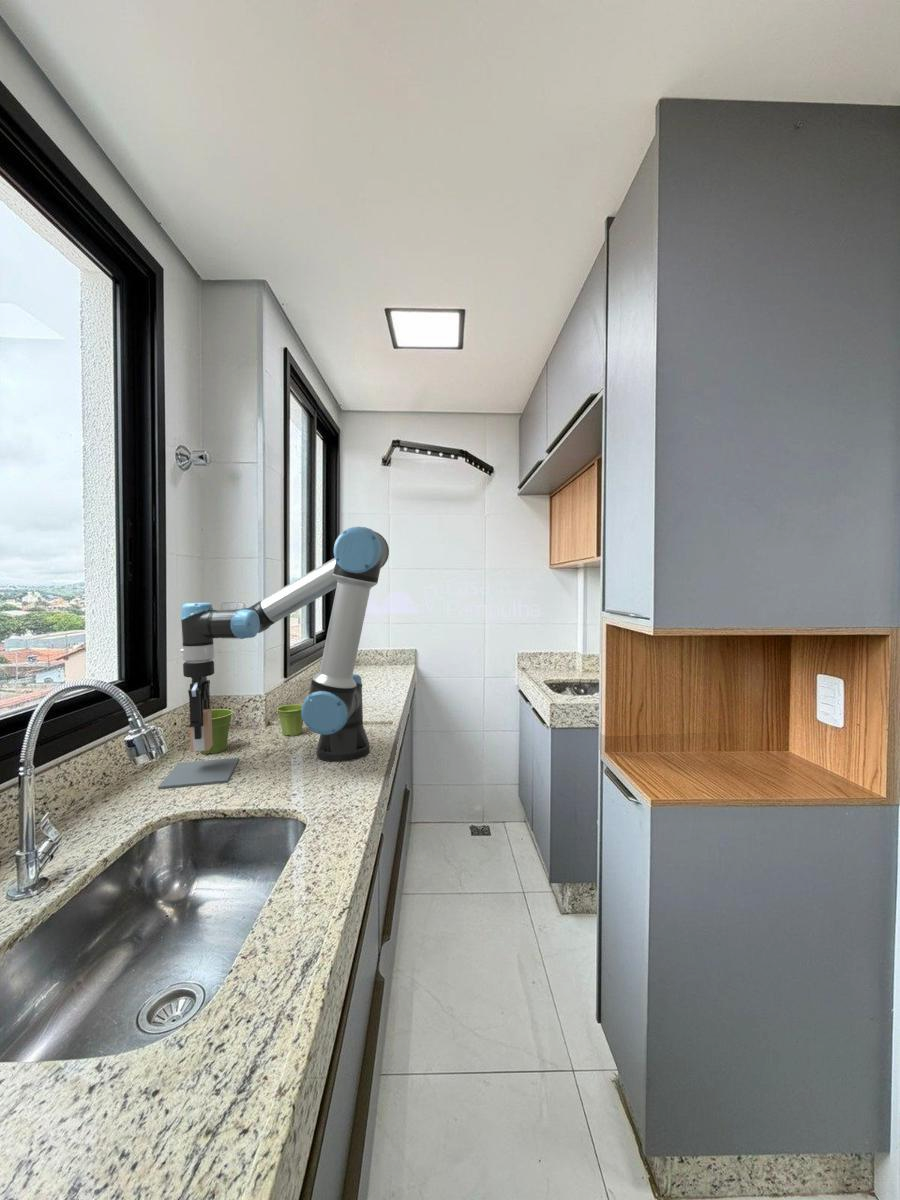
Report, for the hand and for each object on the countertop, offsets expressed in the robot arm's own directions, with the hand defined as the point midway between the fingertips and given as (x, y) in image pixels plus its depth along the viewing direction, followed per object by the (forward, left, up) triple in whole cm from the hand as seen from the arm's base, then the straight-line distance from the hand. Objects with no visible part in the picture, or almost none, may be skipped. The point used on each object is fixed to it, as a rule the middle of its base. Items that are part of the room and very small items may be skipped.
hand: (201, 747), depth 147 cm
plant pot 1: (+1, -18, -7) cm, 19 cm away
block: (0, 0, 0) cm, 0 cm away
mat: (0, +2, -6) cm, 7 cm away
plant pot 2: (-21, -30, -7) cm, 37 cm away
